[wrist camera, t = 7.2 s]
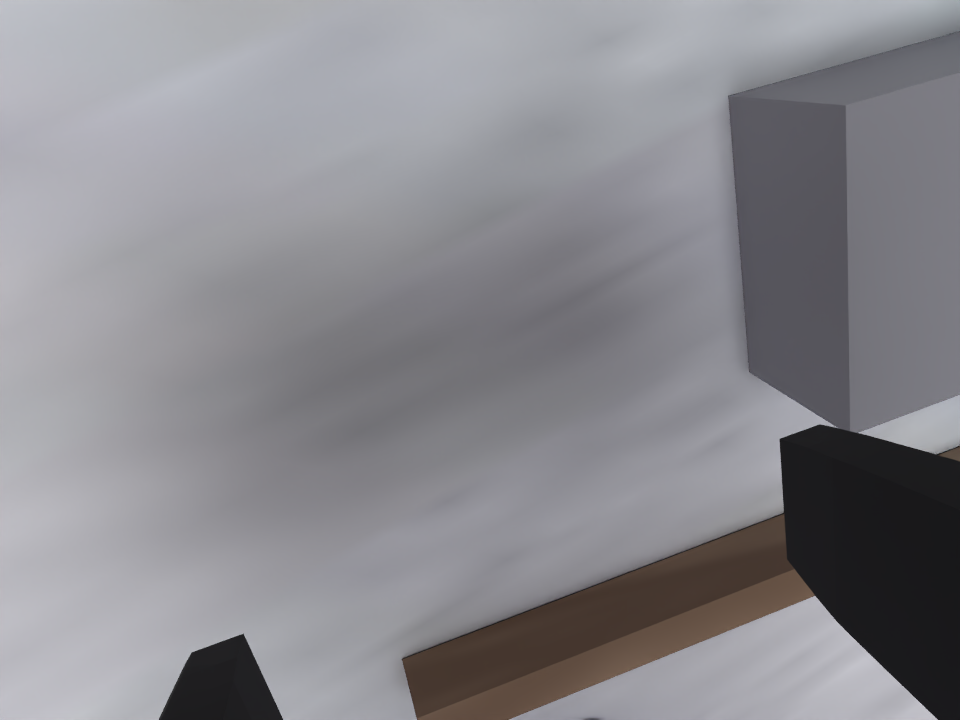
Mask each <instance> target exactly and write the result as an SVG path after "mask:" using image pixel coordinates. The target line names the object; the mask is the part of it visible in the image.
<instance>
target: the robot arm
mask: <svg viewBox="0 0 960 720" xmlns="http://www.w3.org/2000/svg"><path fill="white" fill-rule="evenodd" d="M780 452H781V469H782V485H783V502H784V518H785V535H786V551H787V560H788V561H789V563H790V564H791V565H792V566H793V568H794V569H795V570H796V572H797V573H798V574H799V575H800V577H801V578H802V579H803V581H804V582H805V583H806V584H807V586H808V587H809V588H810V590H811V591H812V592H813V593H814V595H815V596H816V597H817V598H818V599H819V601H820V602H821V603H822V604H823V605H824V607H825V608H826V609H827V610H828V611H829V613H830V614H831V615H832V616H833V617H834V619H835V620H836V621H837V622H838V623H839V624H840V625H841V626H842V627H843V628H844V629H845V630H846V631H847V632H848V633H849V634H850V635H851V636H852V637H853V638H854V639H855V640H856V641H857V642H858V643H859V644H860V645H861V646H862V647H863V648H864V649H865V650H866V651H867V652H868V653H869V654H870V655H871V656H872V657H873V658H875V659H876V660H877V661H878V662H879V663H880V664H881V665H882V666H883V667H884V668H885V669H886V670H887V671H888V672H889V673H890V674H891V675H892V676H893V677H894V678H895V679H896V680H897V681H898V682H899V683H900V684H901V685H902V686H904V687H905V688H906V689H907V690H908V691H909V692H910V693H911V694H912V695H913V696H914V697H915V698H916V699H917V700H918V701H919V702H920V703H921V704H922V705H923V706H924V707H925V708H926V709H927V710H929V711H930V712H931V713H932V714H933V715H934V716H935V717H936V718H937V719H938V720H960V461H957V460H954V459H950V458H946V457H943V456H939V455H936V454H932V453H929V452H925V451H921V450H918V449H914V448H911V447H907V446H904V445H900V444H896V443H893V442H889V441H885V440H882V439H878V438H874V437H871V436H867V435H863V434H859V433H855V432H851V431H847V430H843V429H839V428H834V427H829V426H825V425H817V426H814V427H811V428H809V429H806V430H803V431H800V432H798V433H795V434H792V435H789V436H787V437H784V438H781V439H780ZM159 720H283V718H282V716H281V714H280V712H279V710H278V707H277V705H276V703H275V701H274V699H273V697H272V694H271V692H270V690H269V688H268V686H267V684H266V682H265V679H264V677H263V675H262V673H261V671H260V669H259V666H258V664H257V662H256V660H255V658H254V656H253V653H252V651H251V649H250V647H249V645H248V643H247V640H246V638H245V636H244V634H242V635H239V636H236V637H233V638H231V639H228V640H225V641H222V642H220V643H217V644H214V645H211V646H209V647H206V648H203V649H200V650H198V651H195V652H192V653H191V655H190V657H189V659H188V660H187V662H186V664H185V666H184V668H183V670H182V672H181V674H180V676H179V678H178V680H177V682H176V684H175V686H174V689H173V691H172V693H171V695H170V697H169V699H168V701H167V703H166V705H165V708H164V710H163V712H162V714H161V716H160V718H159Z"/></svg>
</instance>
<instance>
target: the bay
mask: <svg viewBox="0 0 960 720" xmlns="http://www.w3.org/2000/svg"><path fill="white" fill-rule="evenodd" d="M939 456H943V457H946V458H950V459H954V460H957V461H960V447H958V448H955V449H953V450H950V451H947V452H945V453H942V454H940V455H939ZM813 596H815V595H814V593H813V592H812V591H811V590H810V588H809V587H808V586H807V584H806V583H805V582H804V581H803V579H802V578H801V577H800V575H799V574H798V573H797V572H796V570H795V569H794V568H793V566H792V565H791V564H790V563H789V561H788V560H787V551H786V535H785V518H784V514H782V515H780V516H777V517H774V518H772V519H769V520H766V521H764V522H761V523H759V524H756V525H753V526H751V527H748V528H745V529H743V530H740V531H738V532H735V533H732V534H730V535H727V536H725V537H722V538H719V539H717V540H714V541H711V542H709V543H706V544H704V545H701V546H698V547H696V548H693V549H690V550H688V551H685V552H683V553H680V554H677V555H675V556H672V557H669V558H667V559H664V560H662V561H659V562H656V563H654V564H651V565H648V566H646V567H643V568H641V569H638V570H635V571H633V572H630V573H627V574H625V575H622V576H620V577H617V578H614V579H612V580H609V581H606V582H604V583H601V584H599V585H596V586H593V587H591V588H588V589H586V590H583V591H580V592H578V593H575V594H572V595H570V596H567V597H565V598H562V599H559V600H557V601H554V602H551V603H549V604H546V605H544V606H541V607H538V608H536V609H533V610H530V611H528V612H525V613H523V614H520V615H517V616H515V617H512V618H509V619H507V620H504V621H502V622H499V623H496V624H494V625H491V626H488V627H486V628H483V629H481V630H478V631H475V632H473V633H470V634H468V635H465V636H462V637H460V638H457V639H454V640H452V641H449V642H447V643H444V644H441V645H439V646H436V647H433V648H431V649H428V650H426V651H423V652H420V653H418V654H415V655H412V656H410V657H407V658H405V659H402V661H403V665H404V669H405V673H406V677H407V681H408V685H409V689H410V693H411V697H412V701H413V705H414V709H415V713H416V717H417V720H509V719H511V718H514V717H516V716H519V715H521V714H523V713H526V712H528V711H531V710H533V709H536V708H538V707H541V706H543V705H546V704H548V703H551V702H553V701H556V700H558V699H561V698H563V697H566V696H568V695H570V694H573V693H575V692H578V691H580V690H583V689H585V688H588V687H590V686H593V685H595V684H598V683H600V682H603V681H605V680H608V679H610V678H613V677H615V676H617V675H620V674H622V673H625V672H627V671H630V670H632V669H635V668H637V667H640V666H642V665H645V664H647V663H650V662H652V661H655V660H657V659H660V658H662V657H665V656H667V655H669V654H672V653H674V652H677V651H679V650H682V649H684V648H687V647H689V646H692V645H694V644H697V643H699V642H702V641H704V640H707V639H709V638H712V637H714V636H716V635H719V634H721V633H724V632H726V631H729V630H731V629H734V628H736V627H739V626H741V625H744V624H746V623H749V622H751V621H754V620H756V619H759V618H761V617H763V616H766V615H768V614H771V613H773V612H776V611H778V610H781V609H783V608H786V607H788V606H791V605H793V604H796V603H798V602H801V601H803V600H806V599H808V598H810V597H813Z"/></svg>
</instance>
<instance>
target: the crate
mask: <svg viewBox="0 0 960 720" xmlns="http://www.w3.org/2000/svg"><path fill="white" fill-rule="evenodd" d="M729 110H730V123H731V136H732V150H733V163H734V176H735V189H736V203H737V216H738V229H739V243H740V256H741V269H742V282H743V296H744V309H745V322H746V336H747V349H748V362H749V372H750V373H752V374H753V375H755V376H757V377H758V378H760V379H761V380H763V381H764V382H766V383H768V384H769V385H771V386H772V387H774V388H776V389H777V390H779V391H780V392H782V393H784V394H785V395H787V396H788V397H790V398H791V399H793V400H795V401H796V402H798V403H799V404H801V405H803V406H804V407H806V408H807V409H809V410H811V411H812V412H814V413H815V414H817V415H818V416H820V417H822V418H823V419H825V420H826V421H828V422H830V423H831V424H833V425H834V426H836V427H838V428H839V429H843V430H847V431H851V432H855V433H858V432H861V431H864V430H866V429H869V428H872V427H874V426H877V425H880V424H882V423H885V422H888V421H890V420H893V419H896V418H898V417H901V416H904V415H906V414H909V413H912V412H914V411H917V410H920V409H922V408H925V407H928V406H930V405H933V404H936V403H939V402H941V401H944V400H947V399H949V398H952V397H955V396H957V395H960V31H959V32H955V33H952V34H948V35H945V36H941V37H938V38H934V39H930V40H927V41H923V42H920V43H916V44H912V45H909V46H905V47H902V48H898V49H895V50H891V51H887V52H884V53H880V54H877V55H873V56H870V57H866V58H862V59H859V60H855V61H852V62H848V63H844V64H841V65H837V66H834V67H830V68H827V69H823V70H819V71H816V72H812V73H809V74H805V75H801V76H798V77H794V78H791V79H787V80H784V81H780V82H776V83H773V84H769V85H766V86H762V87H758V88H755V89H751V90H748V91H744V92H741V93H737V94H733V95H730V96H729Z"/></svg>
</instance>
